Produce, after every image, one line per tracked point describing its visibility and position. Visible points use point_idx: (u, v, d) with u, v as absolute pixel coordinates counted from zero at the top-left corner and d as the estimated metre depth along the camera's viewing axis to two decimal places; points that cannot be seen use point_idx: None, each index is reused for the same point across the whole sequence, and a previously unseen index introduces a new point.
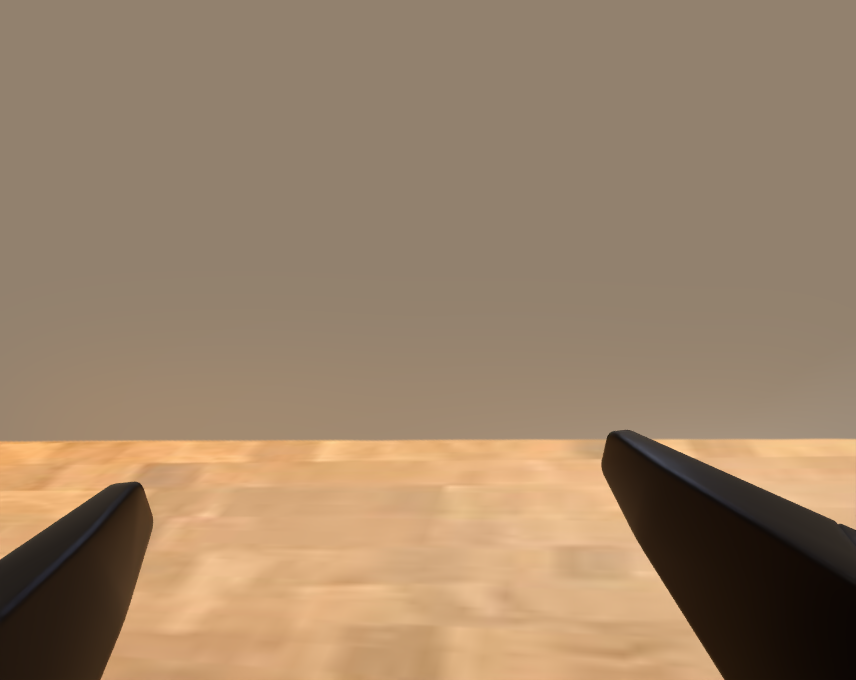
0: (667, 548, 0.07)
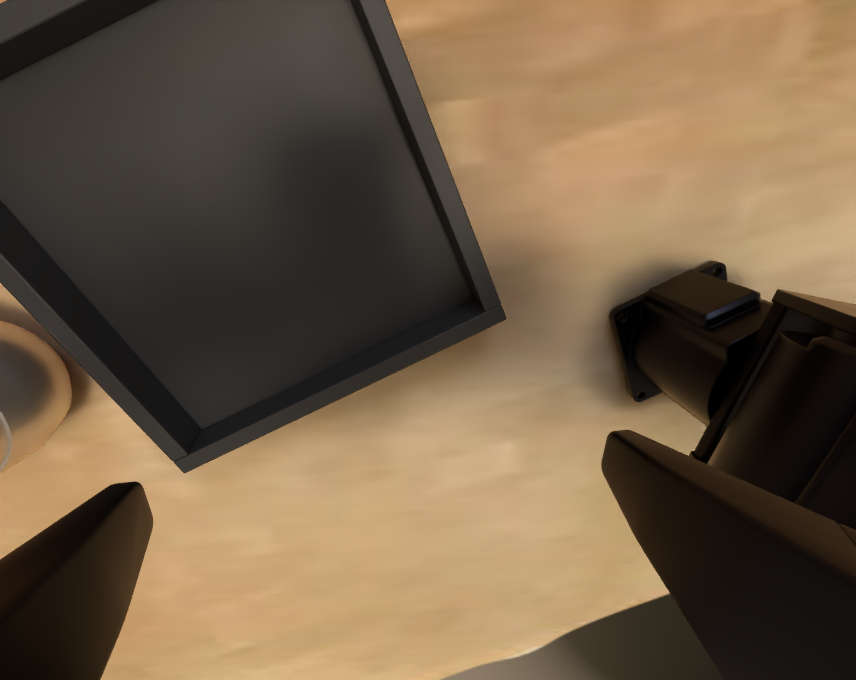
0: (667, 548, 0.07)
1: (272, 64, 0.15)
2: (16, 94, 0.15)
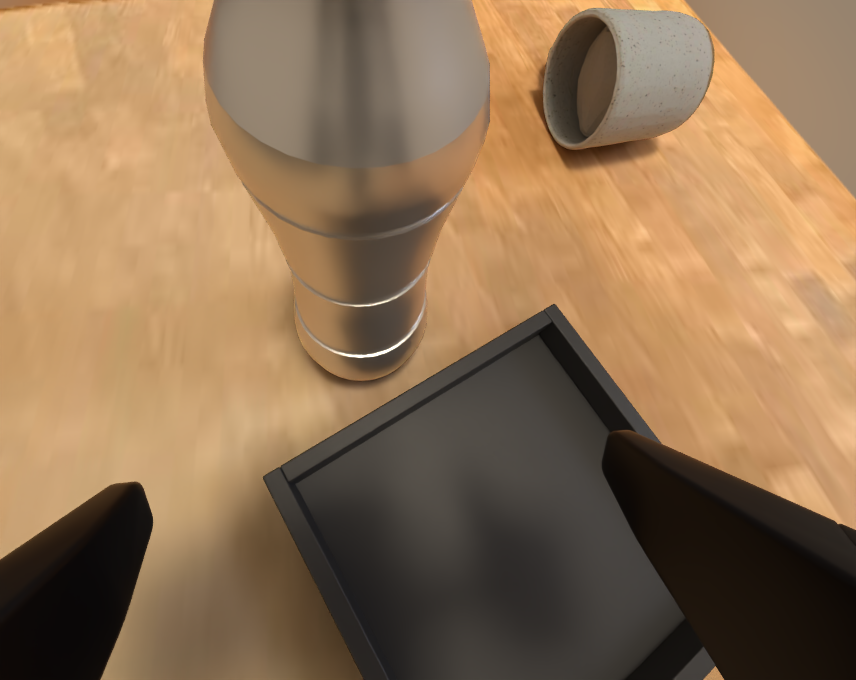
0: (667, 548, 0.07)
1: (631, 553, 0.20)
2: (563, 382, 0.23)
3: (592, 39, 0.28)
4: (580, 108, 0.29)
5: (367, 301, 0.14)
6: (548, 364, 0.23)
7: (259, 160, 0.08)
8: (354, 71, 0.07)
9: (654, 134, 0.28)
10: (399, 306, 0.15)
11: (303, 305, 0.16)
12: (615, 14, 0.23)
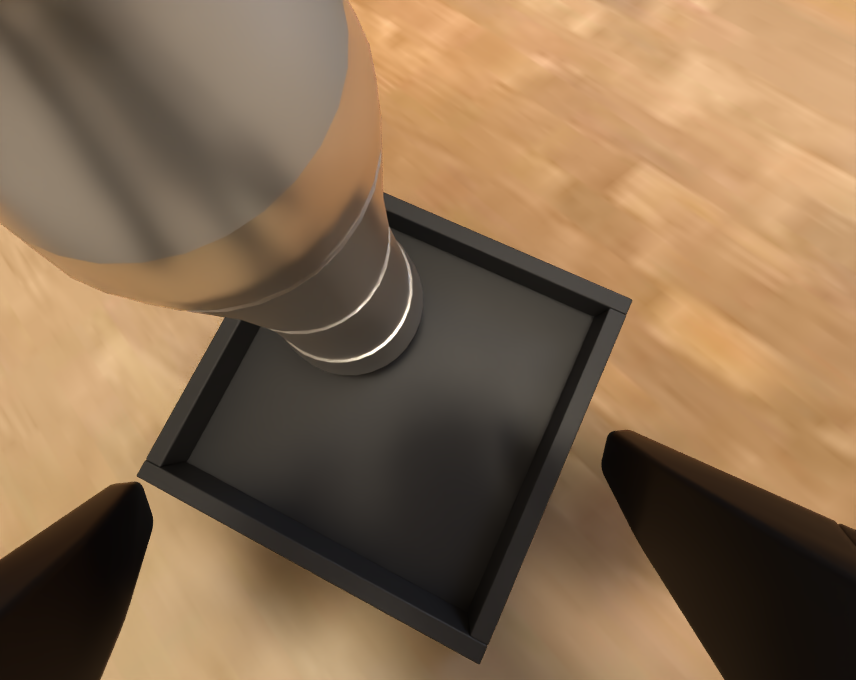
0: (667, 548, 0.07)
1: (503, 341, 0.21)
2: None
3: None
4: None
5: (331, 322, 0.12)
6: None
7: (78, 272, 0.06)
8: (101, 133, 0.04)
9: None
10: (374, 307, 0.13)
11: None
12: None
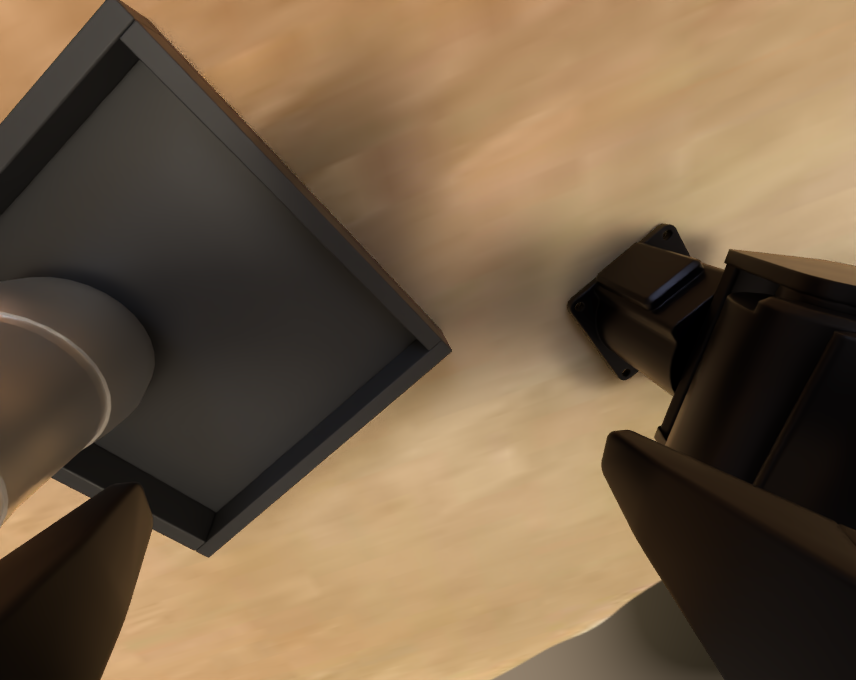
0: (667, 548, 0.07)
1: (156, 192, 0.16)
2: None
3: None
4: None
5: None
6: None
7: None
8: None
9: None
10: None
11: None
12: None
